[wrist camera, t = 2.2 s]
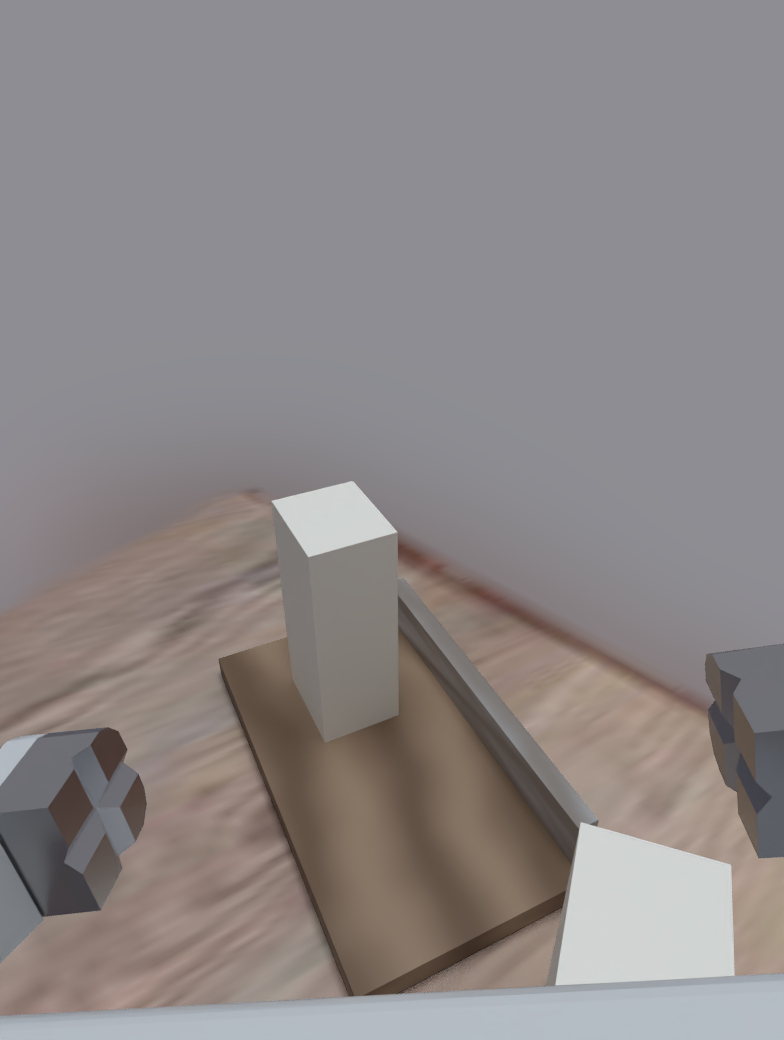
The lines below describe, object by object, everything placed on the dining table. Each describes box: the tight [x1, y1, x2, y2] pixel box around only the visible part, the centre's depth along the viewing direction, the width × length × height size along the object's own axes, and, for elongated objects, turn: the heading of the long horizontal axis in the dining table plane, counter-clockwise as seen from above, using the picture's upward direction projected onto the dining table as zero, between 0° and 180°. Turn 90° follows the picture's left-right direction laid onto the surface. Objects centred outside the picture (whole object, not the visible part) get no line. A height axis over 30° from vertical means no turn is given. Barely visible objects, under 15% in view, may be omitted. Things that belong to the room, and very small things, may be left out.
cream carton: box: [546, 822, 734, 986], centre depth 27 cm, size 5×6×14 cm
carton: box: [272, 481, 399, 743], centre depth 44 cm, size 5×6×14 cm
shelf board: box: [219, 578, 599, 997], centre depth 44 cm, size 14×24×4 cm, turn 26°
